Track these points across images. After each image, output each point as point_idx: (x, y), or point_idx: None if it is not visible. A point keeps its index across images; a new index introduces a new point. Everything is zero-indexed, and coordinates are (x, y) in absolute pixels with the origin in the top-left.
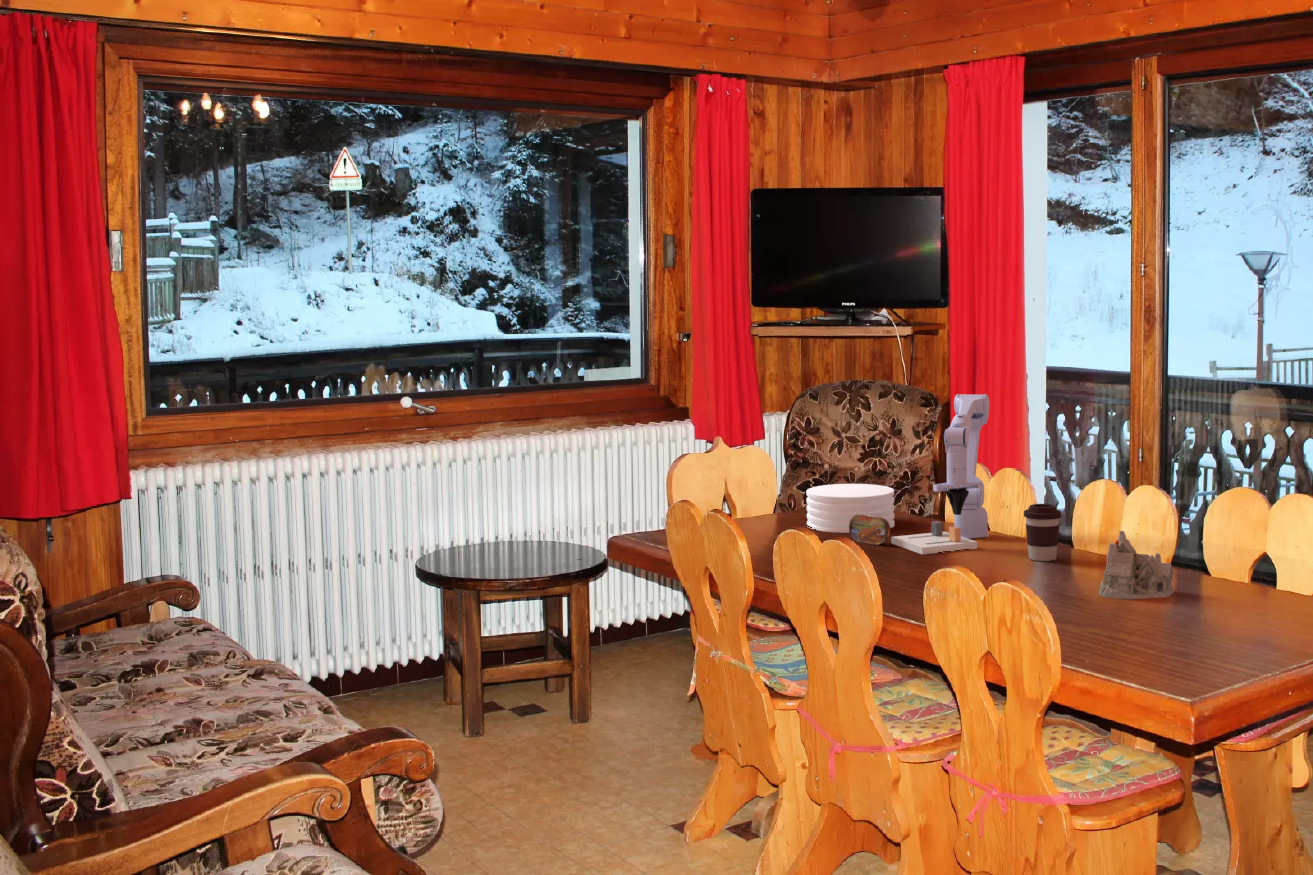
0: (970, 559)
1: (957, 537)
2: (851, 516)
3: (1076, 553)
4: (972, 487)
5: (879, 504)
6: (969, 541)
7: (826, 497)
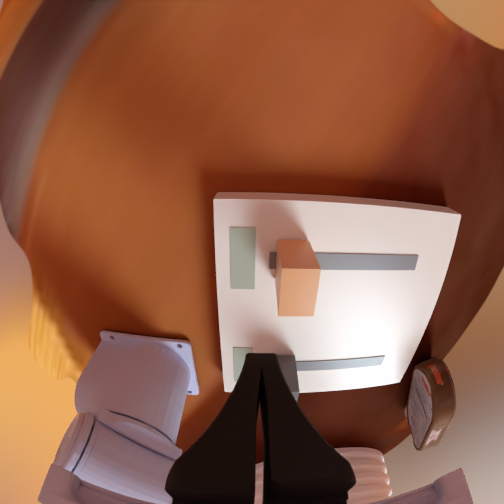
0: (361, 39)
1: (296, 247)
2: (367, 472)
3: (14, 35)
4: (107, 496)
5: None
6: (239, 224)
7: None
